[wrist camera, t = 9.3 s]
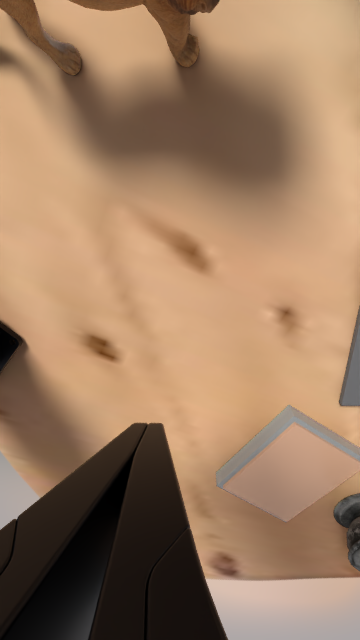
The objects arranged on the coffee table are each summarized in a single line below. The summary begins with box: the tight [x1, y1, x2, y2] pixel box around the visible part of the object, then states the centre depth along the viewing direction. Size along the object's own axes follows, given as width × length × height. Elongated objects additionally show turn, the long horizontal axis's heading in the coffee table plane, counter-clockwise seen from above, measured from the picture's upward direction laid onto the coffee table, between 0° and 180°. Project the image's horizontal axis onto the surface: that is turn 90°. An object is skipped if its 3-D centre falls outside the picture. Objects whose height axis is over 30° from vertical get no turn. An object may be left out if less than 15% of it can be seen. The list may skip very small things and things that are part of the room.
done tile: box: [216, 405, 360, 522], centre depth 23 cm, size 10×8×2 cm
